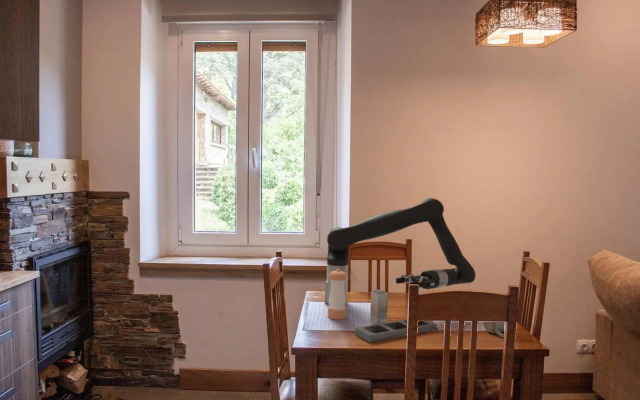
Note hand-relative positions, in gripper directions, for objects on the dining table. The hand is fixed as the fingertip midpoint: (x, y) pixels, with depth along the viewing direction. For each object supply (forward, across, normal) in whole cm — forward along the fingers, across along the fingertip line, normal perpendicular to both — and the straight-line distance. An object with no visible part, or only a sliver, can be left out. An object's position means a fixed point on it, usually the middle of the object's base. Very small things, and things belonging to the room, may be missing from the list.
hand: (403, 283), depth 189 cm
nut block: (+12, 0, +14) cm, 18 cm away
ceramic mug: (-22, +29, +15) cm, 39 cm away
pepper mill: (+22, -14, +14) cm, 30 cm away
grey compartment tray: (+12, +12, +14) cm, 22 cm away
